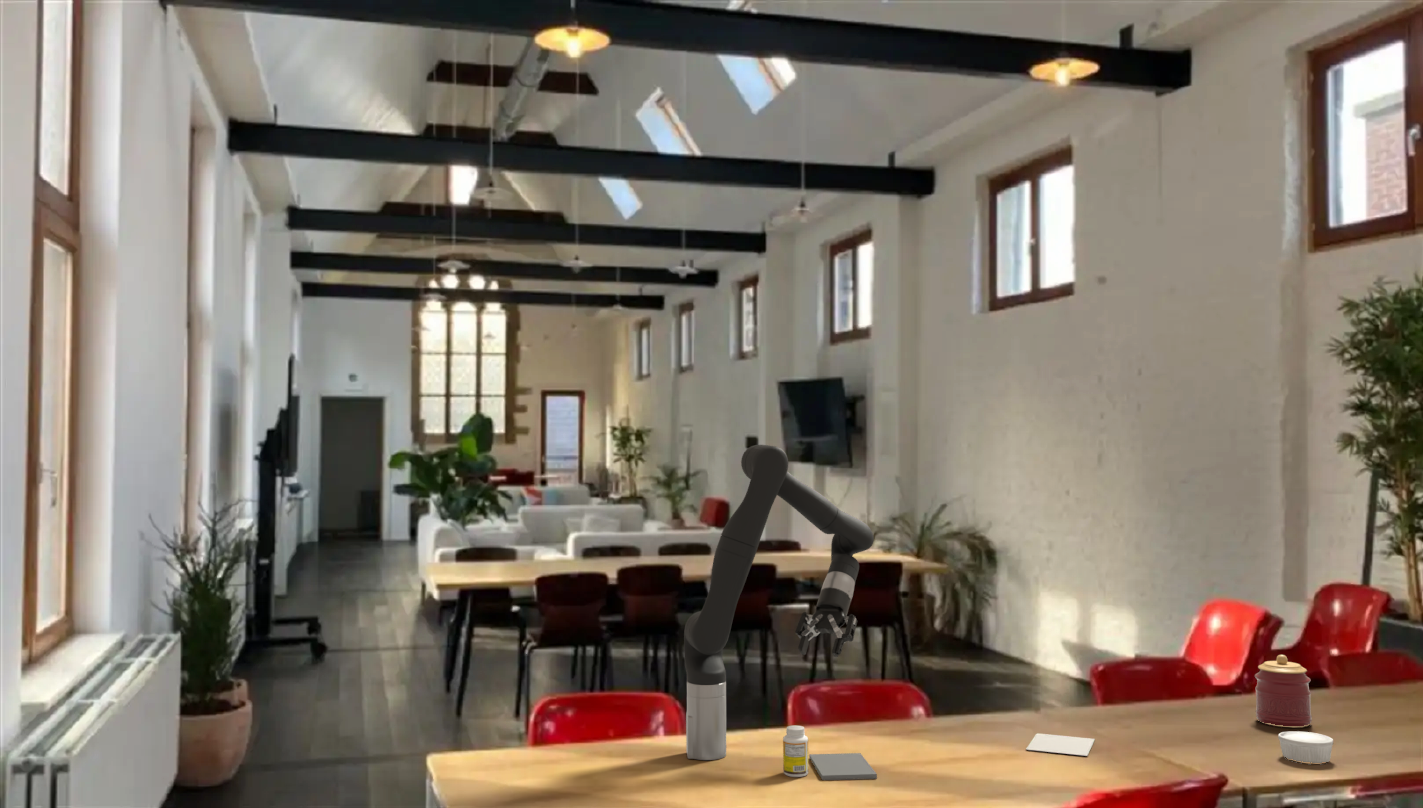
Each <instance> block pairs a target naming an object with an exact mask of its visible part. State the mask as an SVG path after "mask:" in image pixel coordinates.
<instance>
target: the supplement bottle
mask: <svg viewBox="0 0 1423 808" xmlns="http://www.w3.org/2000/svg"><path fill="white" fill-rule="evenodd" d="M785 731H786V734H785V735H784V736H783V738H782V739H783V740H782V747H783V748H782V752H783V753H782V755H783V757H782V759H783V760H782V761H783V763H782V764H783V767H782V768H783V774H784V775H786V776H788V777H789V778H790V777H791V778H802V777H806V776H807V775H808V774H809V738H808V736H807V735H805V733H806V732H805V727H804V726H802V725H788V726H787V727H786V729H785Z"/></svg>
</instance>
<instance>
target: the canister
mask: <svg viewBox="0 0 1423 808" xmlns="http://www.w3.org/2000/svg"><path fill="white" fill-rule="evenodd" d="M1288 660H1289V659H1288V658H1287V656H1286V655H1285V654H1278V655H1277V656H1276V659H1275V660H1267V661H1264V662H1263V663H1262V664H1259V665H1258V666H1257V668H1258V669H1259V672H1257V673H1255V674H1254V677H1255V679H1256V680H1257V681H1256V683H1257V684H1256V686H1255V698H1256V700H1255V706H1256V707H1255V708H1256V710H1255V717H1256V720H1257V719H1258V720H1259V721H1261V722H1264V723H1271V724H1275V725H1283V726H1304V725H1308V724H1310V723H1312V721H1313V720H1312V713H1311V711H1312V710H1311V709H1312V708H1311V707H1312V706H1311V694H1312V692H1311V691H1310V687H1309V683H1310V682H1311V678H1310V677H1308V676H1307V674H1306V673H1307V672H1308V670H1307V668H1305V667H1303V666H1302V665H1301V664H1300V663H1297V662H1292V661H1288Z"/></svg>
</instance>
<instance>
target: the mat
mask: <svg viewBox="0 0 1423 808" xmlns="http://www.w3.org/2000/svg"><path fill="white" fill-rule="evenodd" d="M810 759H811V761H812V762H811V761H810V762H811V764H812V763H813V764H812V765H814V766H815V767H814V766H813V767H814V769H815V770H817V771H816V772H817V774H818V776H819V777H820V779H821V780H822V781H839V780H840V781H843V780H846V781H847V780H872V779H873V780H875V779H878V773H877V772H876V771H875V770H874V769H873V767H872V766H871V765H870V764H869V762H868V761H867V760H866V758H865V757H864V756H863V754H862V753H860V752H857V753H856V752H852V753H851V752H849V753H843V752H842V753H811V754H809V753H808V760H810Z"/></svg>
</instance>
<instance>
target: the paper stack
mask: <svg viewBox="0 0 1423 808" xmlns="http://www.w3.org/2000/svg"><path fill="white" fill-rule="evenodd" d="M1095 740H1096V739H1095V738H1089V737H1079V736H1068V735H1061V734H1060V735H1059V734H1050V733H1049V734H1047V733H1035V735H1034V737H1033V738H1032V740H1031V741H1030V743H1029V744H1028V745H1027V747H1026V748H1025V749H1026V750H1028V751H1037V752H1046V753H1047V752H1048V753H1058V754H1067V755H1075V756H1085V757H1086V756H1087V757H1088V756H1089V753H1090V752H1091V751H1090V750H1091V748H1092V747H1093V744H1094V742H1095Z"/></svg>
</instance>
